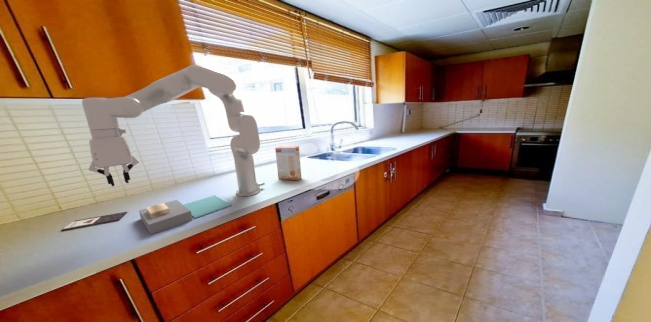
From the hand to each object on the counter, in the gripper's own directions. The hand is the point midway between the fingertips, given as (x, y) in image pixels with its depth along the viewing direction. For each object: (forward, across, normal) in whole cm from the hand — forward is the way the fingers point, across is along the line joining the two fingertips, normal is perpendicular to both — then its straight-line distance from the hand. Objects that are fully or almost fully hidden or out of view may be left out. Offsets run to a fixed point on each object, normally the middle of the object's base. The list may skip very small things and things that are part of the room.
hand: (120, 183), depth 82 cm
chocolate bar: (+20, +9, -24) cm, 32 cm away
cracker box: (+20, -78, 0) cm, 80 cm away
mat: (+19, -27, 0) cm, 33 cm away
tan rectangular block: (+15, -9, 0) cm, 18 cm away
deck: (+19, -11, 0) cm, 22 cm away
